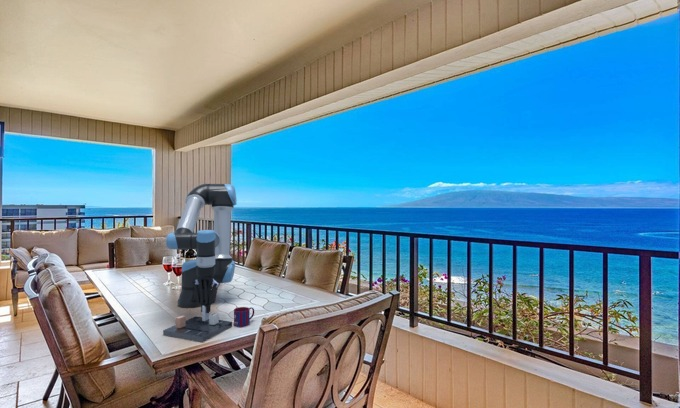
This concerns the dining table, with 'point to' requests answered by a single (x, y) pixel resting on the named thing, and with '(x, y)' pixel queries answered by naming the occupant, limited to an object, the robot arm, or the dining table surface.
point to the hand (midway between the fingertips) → (205, 319)
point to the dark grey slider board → (197, 329)
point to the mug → (242, 316)
